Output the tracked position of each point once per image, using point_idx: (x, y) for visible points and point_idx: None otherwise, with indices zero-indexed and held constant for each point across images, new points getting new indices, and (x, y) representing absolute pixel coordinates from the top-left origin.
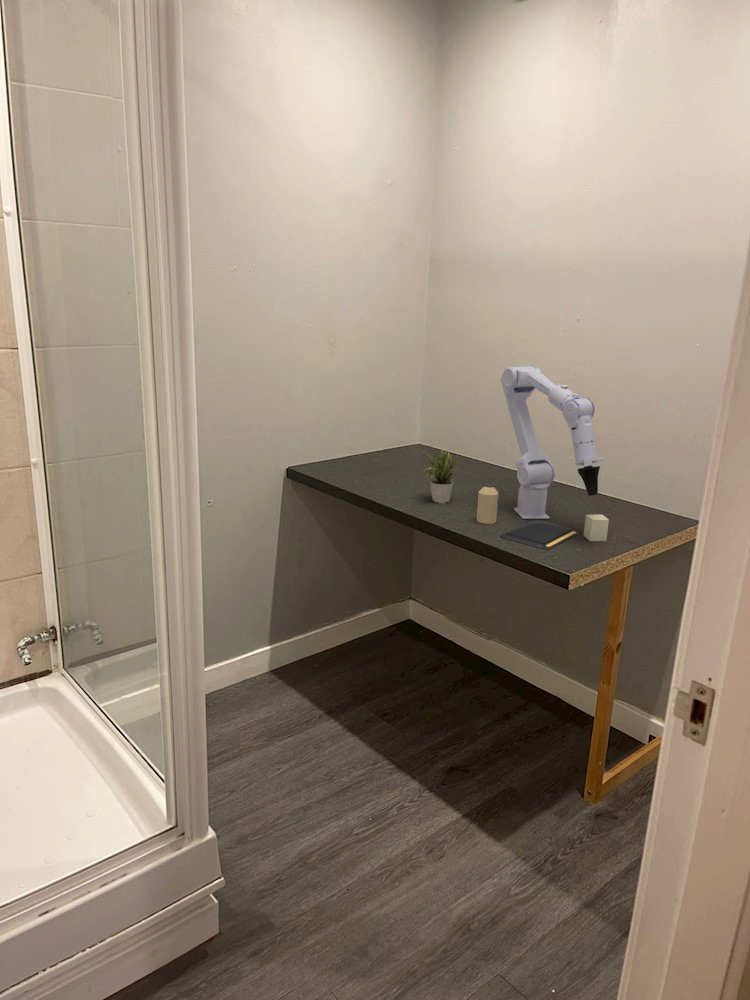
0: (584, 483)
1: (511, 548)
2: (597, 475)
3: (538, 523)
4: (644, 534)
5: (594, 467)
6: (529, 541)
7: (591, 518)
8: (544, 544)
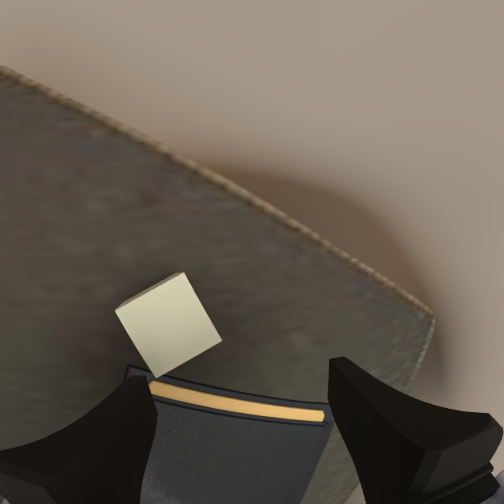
0: (141, 482)
1: (352, 467)
2: (434, 406)
3: (161, 490)
4: (53, 155)
5: (491, 451)
6: (316, 459)
7: (204, 347)
8: (324, 424)
